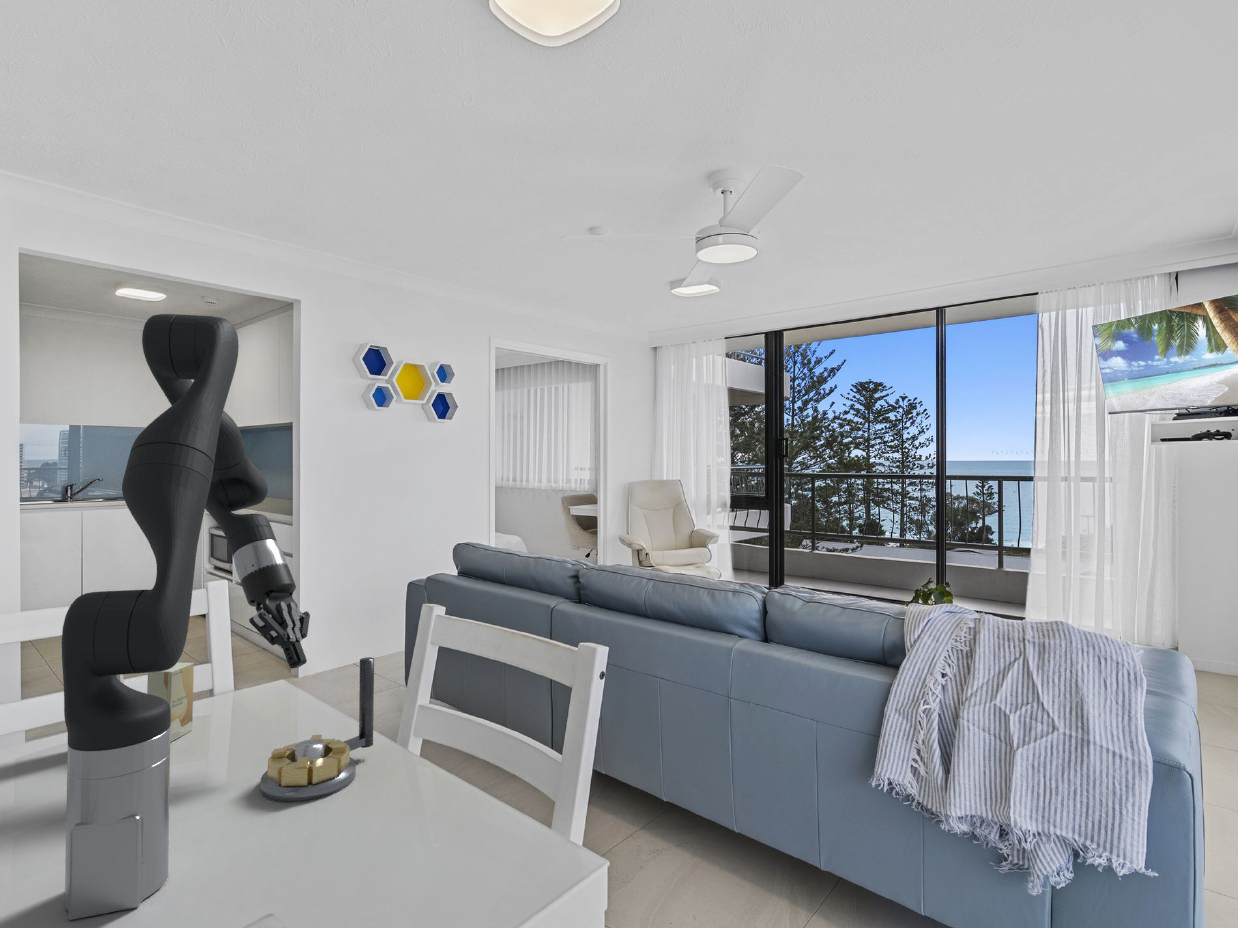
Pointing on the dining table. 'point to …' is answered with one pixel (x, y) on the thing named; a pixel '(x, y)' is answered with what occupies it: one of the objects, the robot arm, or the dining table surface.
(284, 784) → the lever crank
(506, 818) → the dining table surface
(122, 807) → the robot arm
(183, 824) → the dining table surface
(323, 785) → the flange
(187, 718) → the skincare box
